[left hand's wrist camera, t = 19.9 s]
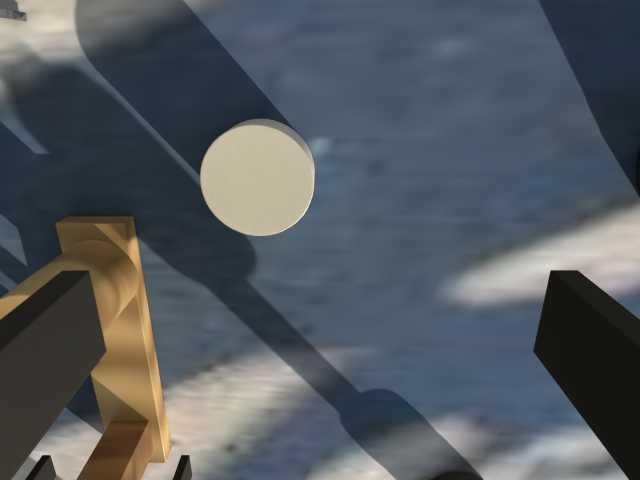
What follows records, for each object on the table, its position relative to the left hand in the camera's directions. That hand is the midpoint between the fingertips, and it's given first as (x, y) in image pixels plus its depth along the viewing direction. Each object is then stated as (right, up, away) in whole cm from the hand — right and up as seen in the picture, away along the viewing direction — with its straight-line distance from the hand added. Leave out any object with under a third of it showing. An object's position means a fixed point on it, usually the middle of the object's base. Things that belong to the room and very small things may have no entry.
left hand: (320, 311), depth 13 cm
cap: (-5, +8, +26) cm, 27 cm away
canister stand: (-20, -9, +32) cm, 39 cm away
